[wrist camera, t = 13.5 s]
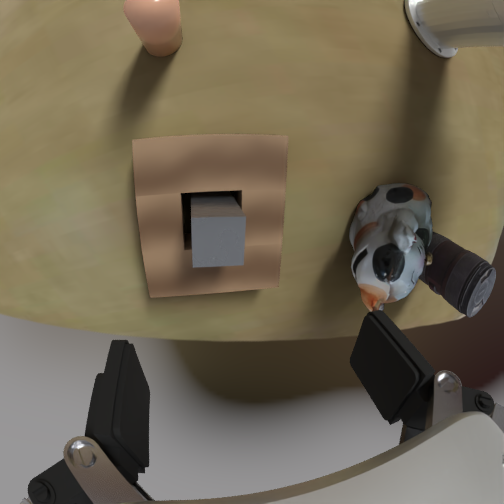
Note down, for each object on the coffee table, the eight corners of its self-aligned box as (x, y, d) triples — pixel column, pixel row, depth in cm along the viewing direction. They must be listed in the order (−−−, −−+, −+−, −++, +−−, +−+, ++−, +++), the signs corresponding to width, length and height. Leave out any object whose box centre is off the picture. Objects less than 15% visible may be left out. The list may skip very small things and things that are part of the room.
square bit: (190, 189, 28) (191, 217, 19) (228, 189, 29) (246, 216, 20) (191, 225, 30) (192, 267, 21) (227, 224, 30) (243, 265, 22)
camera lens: (433, 258, 41) (491, 300, 28) (401, 277, 41) (460, 329, 27) (433, 218, 37) (501, 256, 24) (400, 236, 37) (471, 284, 24)
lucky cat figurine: (404, 265, 40) (420, 337, 29) (336, 254, 41) (337, 329, 31) (438, 185, 30) (480, 253, 19) (359, 166, 31) (379, 231, 21)
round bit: (147, 27, 19) (128, -14, 10) (184, 24, 20) (181, -20, 11) (142, 58, 21) (119, 26, 12) (180, 55, 21) (174, 20, 13)
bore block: (141, 138, 24) (132, 139, 20) (274, 135, 27) (288, 135, 23) (153, 276, 31) (150, 297, 27) (267, 268, 34) (278, 287, 30)
